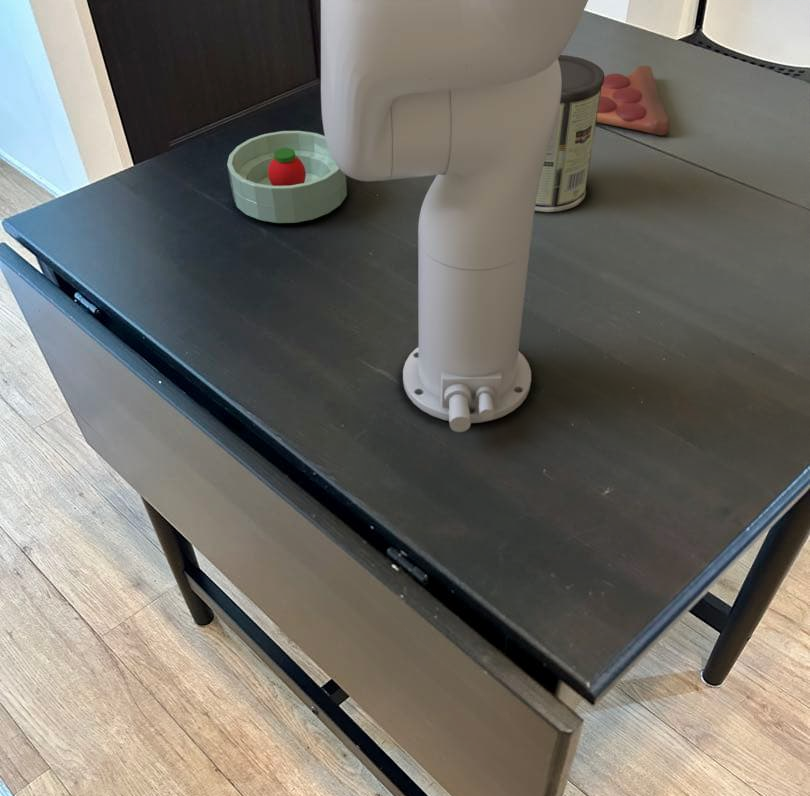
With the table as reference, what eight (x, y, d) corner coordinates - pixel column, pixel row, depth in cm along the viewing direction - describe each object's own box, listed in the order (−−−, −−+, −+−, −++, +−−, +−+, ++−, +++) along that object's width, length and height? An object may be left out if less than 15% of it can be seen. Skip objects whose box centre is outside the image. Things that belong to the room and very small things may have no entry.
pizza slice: (672, 121, 111) (522, 121, 112) (668, 138, 113) (520, 138, 114) (651, 63, 123) (516, 64, 124) (648, 79, 125) (515, 80, 126)
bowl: (345, 226, 101) (342, 186, 97) (228, 228, 101) (220, 189, 97) (348, 167, 110) (346, 129, 106) (241, 170, 110) (234, 131, 106)
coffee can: (519, 164, 109) (530, 48, 98) (595, 180, 106) (615, 62, 95) (491, 202, 103) (499, 83, 92) (570, 220, 101) (589, 99, 90)
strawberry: (306, 201, 103) (302, 161, 99) (269, 202, 103) (263, 162, 99) (308, 182, 106) (304, 143, 102) (272, 183, 106) (267, 144, 102)
